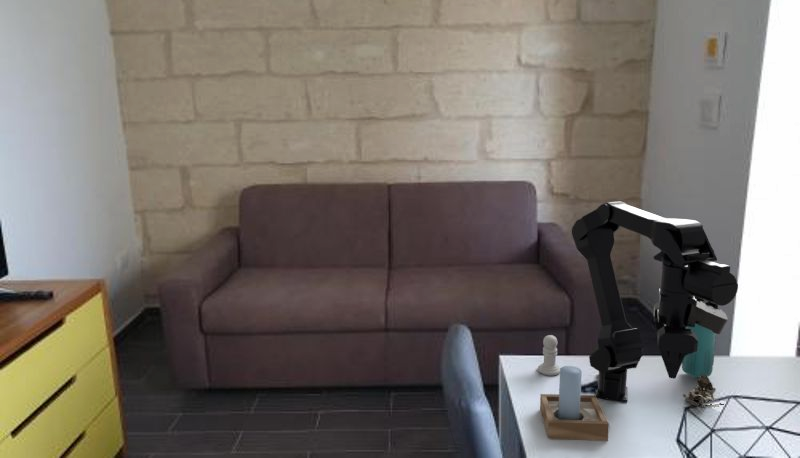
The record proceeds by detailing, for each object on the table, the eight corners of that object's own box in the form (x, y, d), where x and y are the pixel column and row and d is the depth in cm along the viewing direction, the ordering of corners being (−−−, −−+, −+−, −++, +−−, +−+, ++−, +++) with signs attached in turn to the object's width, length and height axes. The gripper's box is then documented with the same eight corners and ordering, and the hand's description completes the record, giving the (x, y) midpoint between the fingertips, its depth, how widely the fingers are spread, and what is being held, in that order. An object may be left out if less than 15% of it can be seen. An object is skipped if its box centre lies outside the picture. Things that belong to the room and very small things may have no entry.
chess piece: (558, 378, 139) (559, 341, 137) (535, 373, 141) (536, 337, 139) (562, 368, 143) (564, 333, 141) (540, 364, 145) (541, 329, 144)
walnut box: (540, 409, 125) (540, 394, 124) (594, 410, 124) (595, 395, 123) (548, 438, 114) (549, 422, 113) (607, 440, 113) (608, 423, 112)
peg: (566, 419, 121) (569, 364, 118) (583, 427, 118) (586, 371, 115) (553, 425, 119) (555, 369, 116) (569, 434, 115) (572, 377, 113)
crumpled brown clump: (680, 415, 120) (667, 373, 129) (678, 435, 124) (665, 393, 133) (746, 413, 118) (727, 370, 127) (742, 433, 121) (724, 390, 130)
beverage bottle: (717, 383, 134) (726, 298, 130) (687, 384, 135) (695, 298, 130) (703, 370, 141) (711, 289, 137) (674, 371, 141) (682, 289, 137)
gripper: (735, 309, 99) (726, 396, 102) (718, 278, 116) (711, 353, 120) (661, 303, 103) (655, 387, 106) (656, 273, 120) (650, 346, 123)
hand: (670, 367), depth 114 cm, fingers open, 9 cm apart
